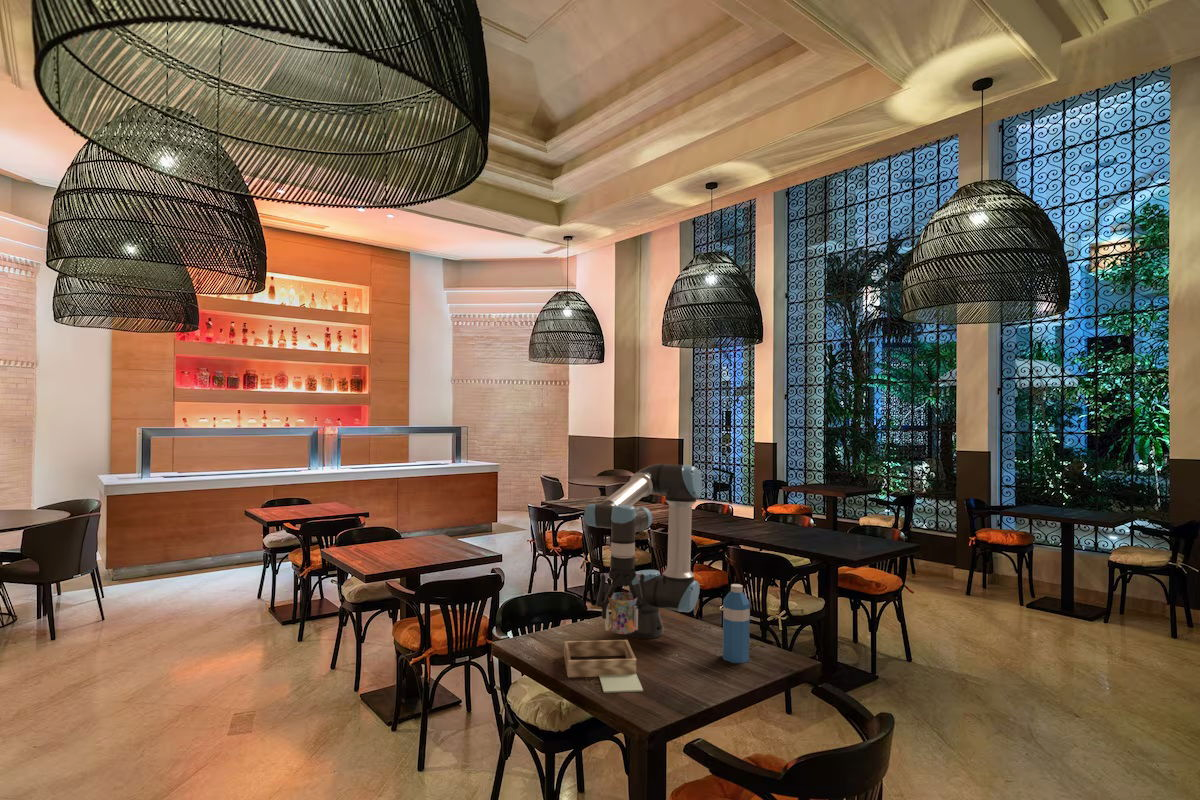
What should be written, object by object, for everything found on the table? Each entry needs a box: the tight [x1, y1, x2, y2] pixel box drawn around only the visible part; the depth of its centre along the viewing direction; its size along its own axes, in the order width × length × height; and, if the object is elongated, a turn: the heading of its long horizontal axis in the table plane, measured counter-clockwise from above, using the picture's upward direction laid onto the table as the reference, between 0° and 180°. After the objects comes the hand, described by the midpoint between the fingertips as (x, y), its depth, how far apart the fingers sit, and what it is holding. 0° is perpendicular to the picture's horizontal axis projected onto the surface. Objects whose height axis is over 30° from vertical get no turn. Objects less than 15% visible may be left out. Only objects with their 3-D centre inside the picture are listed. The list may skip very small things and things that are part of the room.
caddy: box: [563, 639, 637, 678], centre depth 215 cm, size 22×18×5 cm
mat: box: [599, 673, 644, 694], centre depth 200 cm, size 12×12×1 cm
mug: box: [608, 592, 638, 635], centre depth 201 cm, size 12×9×11 cm
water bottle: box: [722, 583, 751, 664], centre depth 224 cm, size 9×9×25 cm
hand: (621, 628), depth 201 cm, fingers closed on mug, 8 cm apart
